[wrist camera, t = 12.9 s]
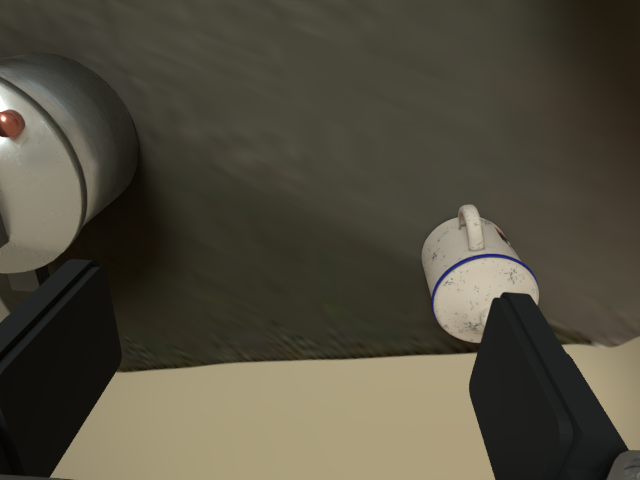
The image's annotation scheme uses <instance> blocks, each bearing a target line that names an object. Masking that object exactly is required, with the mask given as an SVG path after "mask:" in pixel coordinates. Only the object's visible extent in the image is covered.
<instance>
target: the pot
mask: <svg viewBox="0 0 640 480" xmlns="http://www.w3.org/2000/svg"><path fill="white" fill-rule="evenodd" d="M0 77H2V78H4V79H6V80H8V81H10V82H11V83H13V84H14V85H16V86H17V87H19V88H20V89H22V90H23V91H24V92H26V93H27V94H28V95H29V96H31V97H32V98H33V99H34V100H36V101H37V102H38V103H39V104H40V105H41V106H42V107H43V108H44V109H45V110H46V111H47V112H48V113H49V114H50V115H51V116H52V118H53V119H54V120H55V121H56V122H57V124H58V125H59V126H60V127H61V129H62V130H63V132H64V133H65V135H66V136H67V138H68V139H69V141H70V142H71V144H72V146H73V148H74V150H75V152H76V154H77V156H78V159H79V161H80V164H81V166H82V169H83V173H84V176H85V180H86V187H87V212H86V218H85V221H84V224H83V226H84V225H85V224H86V223H87V222H89V221H90V220H91V219H92V218H93V217H95V216H96V215H97V214H98V213H99V212H100V211H102V210H103V209H104V208H105V207H106V206H107V205H109V204H110V203H111V202H112V201H113V200H115V199H116V198H117V197H118V196H119V195H120V194H121V193H123V192H124V191H125V189H126V188H127V187H128V186H129V184H130V182H131V181H132V179H133V177H134V174H135V172H136V168H137V164H138V155H139V148H138V139H137V134H136V130H135V127H134V124H133V121H132V119H131V117H130V114H129V112H128V110H127V109H126V107H125V105H124V104H123V102H122V100H121V99H120V98H119V97H118V95H117V94H116V93H115V91H114V90H113V89H112V88H111V87H110V86H109V85H108V84H107V83H106V82H105V81H104V80H103V79H102V78H101V77H99V76H98V75H97V74H96V73H94V72H93V71H91V70H90V69H88V68H87V67H85V66H83V65H81V64H80V63H78V62H76V61H73V60H71V59H68V58H66V57H62V56H59V55H55V54H48V53H29V54H23V55H17V56H11V57H5V58H0ZM7 275H8V278H9V281H10V284H11V287H12V290H19V291H31V292H34V291H35V290H36V289H37V288H38V287H39V286H41V285H42V284H43V283H44V282H45V281H46V280H47V279H48V278H49V277H50V275H49V272H48V268H47V264H46V265H44V266H42V267H40V268H37V269H34V270H30V271H26V272H19V273H7Z"/></svg>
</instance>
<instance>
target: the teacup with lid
mask: <svg viewBox="0 0 640 480" xmlns="http://www.w3.org/2000/svg"><path fill="white" fill-rule="evenodd" d="M422 264H423V268H424V272H425V275H426V279H427V283H428V286H429V290H430V294H431V297H432V298H431V306H432V311H433V314H434V316H435V319H436V320H437V322H438V323H439V324H440V326H441V327H442V328H443V329H444V330H446V331H447V332H448V333H449V334H451V335H453V336H454V337H456V338H459V339H461V340H464V341H468V342H475V343H480V342H481V339H482V335H483V331H484V328H485V324H486V321H487V317H488V313H489V310H490V306H491V303H492V300H493V299H494V298H495V297H498V298H500V296H501V294H502V293H503V292H512V293H525V294H530V295H531V297H532V298H533V300H534V301H535V303H536V305H538V300H539V288H538V283H537V280H536V278H535V276H534V274H533V273H532V271H531V270H530V269H529V268H528V267H527V266H526V265H525V264H524V263H522V261H521V260H520V258H519V257H518V255H517V254H516V252H515V251H514V249H513V248H512V246H511V245H510V243H509V242H508V240H507V239H506V237H505V236H504V234H503V233H502V231H501V230H500V229H499V228H498V227H497V226H496V225H495V224H494V223H492V222H490V221H488V220H486V219H483V218H480V216H479V213H478V211H477V209H476V208H475V207H474V206H473V205H464V206H462V207H461V208H460V209H459V213H458V218H454V219H451V220H448V221H446V222H444V223H443V224H441V225H439V226H438V227H437V228H436V229H434V230H433V232H432V233H431V234H430V235H429V236H428V238H427V239H426V241H425V243H424V246H423V249H422Z"/></svg>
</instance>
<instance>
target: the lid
mask: <svg viewBox="0 0 640 480" xmlns="http://www.w3.org/2000/svg"><path fill="white" fill-rule="evenodd" d="M86 212H87V187H86V180H85V176H84V173H83V169H82V166H81V164H80V161H79V159H78V156H77V154H76V152H75V150H74V148H73V146H72V144H71V142H70V141H69V139H68V138H67V136H66V135H65V133H64V132H63V130H62V129H61V127H60V126H59V125H58V124H57V122H56V121H55V120H54V119H53V118H52V116H51V115H50V114H49V113H48V112H47V111H46V110H45V109H44V108H43V107H42V106H41V105H40V104H39V103H38V102H37V101H36V100H34V99H33V98H32V97H31V96H29V95H28V94H27V93H26V92H24V91H23V90H22V89H20V88H19V87H17V86H16V85H14V84H13V83H11V82H10V81H8V80H6V79H4V78H2V77H0V273H19V272H26V271H30V270H34V269H37V268H40V267H42V266H44V265H46V264H48V263H50V262H51V261H53V260H54V259H56V258H57V257H58V256H59V255H60V254H61V253H63V252H64V251H65V250H66V249H67V248H68V247H69V246H70V245H71V244H72V243H73V242H74V241H75V239H76V238H77V236H78V235H79V233H80V231H81V229H82V227H83V224H84V221H85V218H86Z"/></svg>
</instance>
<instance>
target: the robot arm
mask: <svg viewBox="0 0 640 480" xmlns="http://www.w3.org/2000/svg"><path fill="white" fill-rule="evenodd" d="M121 358H122V351H121V346H120V341H119V336H118V331H117V325H116V320H115V315H114V310H113V305H112V300H111V295H110V289H109V284H108V279H107V274H106V271H105V269H104V268H103V267H100V266H99V264H98V263H97V262H96V261H91V260H78V259H70V260H68V261H67V262H65V263H64V264H63V265H62V266H61V267H60V268H59V269H58V270H57V271H56V272H55V273H54V274H52V275H51V276H50V277H49V278H48V279H47V280H46V281H45V282H44V283H43V284H42V285H41V286H39V287H38V288H37V289H36V290H35V291H34V292H33V293H32V294H31V295H30V296H29V297H28V298H27V299H25V300H24V301H23V302H22V303H21V304H20V305H19V306H18V307H17V308H16V309H15V310H14V311H12V312H11V313H10V314H9V315H8V316H7V317H6V318H5V319H4V320H3V321H2V322H1V323H0V480H71V479H59V478H49V477H50V476H51V474H52V473H53V471H54V470H55V468H56V466H57V465H58V463H59V462H60V460H61V458H62V457H63V455H64V454H65V452H66V450H67V449H68V447H69V446H70V444H71V442H72V441H73V439H74V438H75V436H76V434H77V433H78V431H79V430H80V428H81V426H82V425H83V423H84V422H85V420H86V419H87V417H88V415H89V414H90V412H91V410H92V409H93V407H94V406H95V404H96V403H97V401H98V399H99V398H100V396H101V395H102V393H103V392H104V390H105V388H106V386H107V385H108V384H109V382H110V380H111V379H112V377H113V376H114V374H115V372H116V371H117V369H118V367H119V366H120V363H121ZM469 392H470V398H471V401H472V404H473V407H474V410H475V414H476V417H477V421H478V424H479V427H480V430H481V434H482V437H483V439H484V444H485V447H486V450H487V453H488V456H489V460H490V463H491V467H492V470H493V473H494V476H495V480H640V451H639V450H638V451H637V450H629V449H628V448H627V446H626V445H625V443H624V441H623V440H622V438H621V436H620V435H619V433H618V432H617V430H616V428H615V427H614V425H613V424H612V422H611V420H610V419H609V417H608V415H607V414H606V412H605V411H604V409H603V407H602V406H601V404H600V403H599V401H598V399H597V398H596V396H595V395H594V393H593V391H592V390H591V388H590V387H589V385H588V383H587V382H586V380H585V378H584V377H583V375H582V374H581V372H580V370H579V369H578V368H577V366H576V364H575V362H574V361H573V359H572V358H571V357H570V356H569V354H567V353H566V352H565V350H564V349H563V347H562V345H561V344H560V342H559V340H558V339H557V337H556V336H555V334H554V332H553V331H552V329H551V327H550V326H549V324H548V323H547V321H546V319H545V318H544V316H543V314H542V313H541V311H540V310H539V308H538V306H537V305H536V303H535V301H534V300H533V298H532V297H531V295H530V294H525V293H512V292H503V293H502V294H501V296H500V298H498V297H495V298H494V299H493V300H492V303H491V306H490V310H489V313H488V317H487V321H486V324H485V328H484V331H483V335H482V339H481V342H480V346H479V349H478V353H477V357H476V360H475V364H474V367H473V371H472V375H471V378H470V383H469Z"/></svg>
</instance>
